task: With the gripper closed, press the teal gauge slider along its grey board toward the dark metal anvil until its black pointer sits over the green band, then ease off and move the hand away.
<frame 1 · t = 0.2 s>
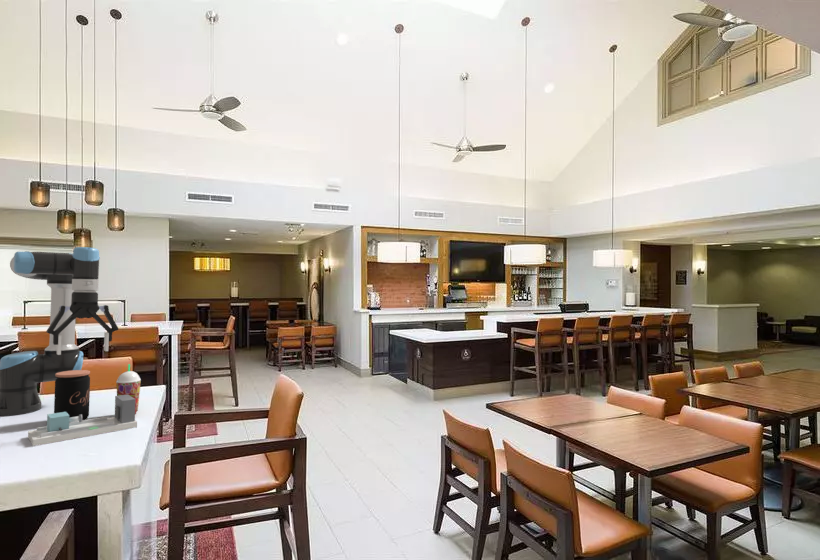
hand: (83, 352, 157), 27 cm above the table, tool pointing down, fingers open, 13 cm apart
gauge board: (82, 432, 156), on the table
gauge slider: (66, 422, 152), point 5 cm above the table, slide at 0.0 cm
smoothie: (127, 415, 178), on the table
coffee jar: (71, 420, 170), on the table
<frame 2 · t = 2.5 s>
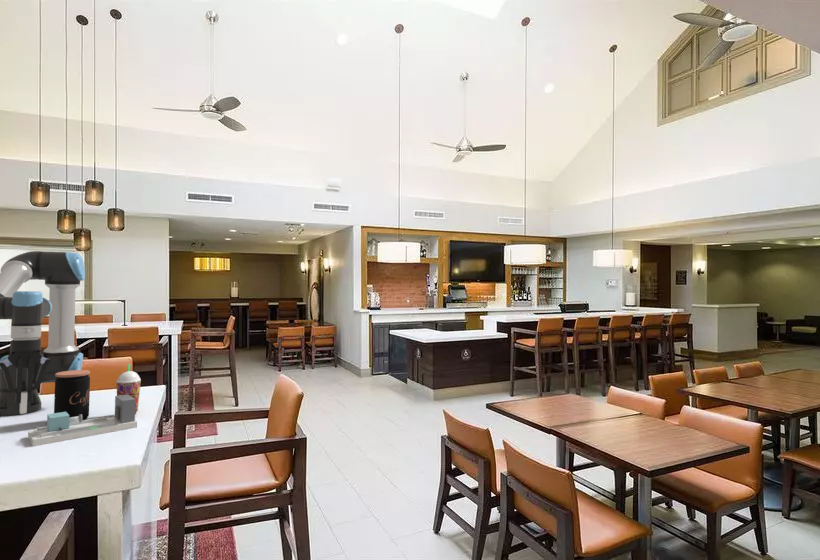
hand: (23, 412, 144), 10 cm above the table, tool pointing down, fingers closed
nothing on the table moved.
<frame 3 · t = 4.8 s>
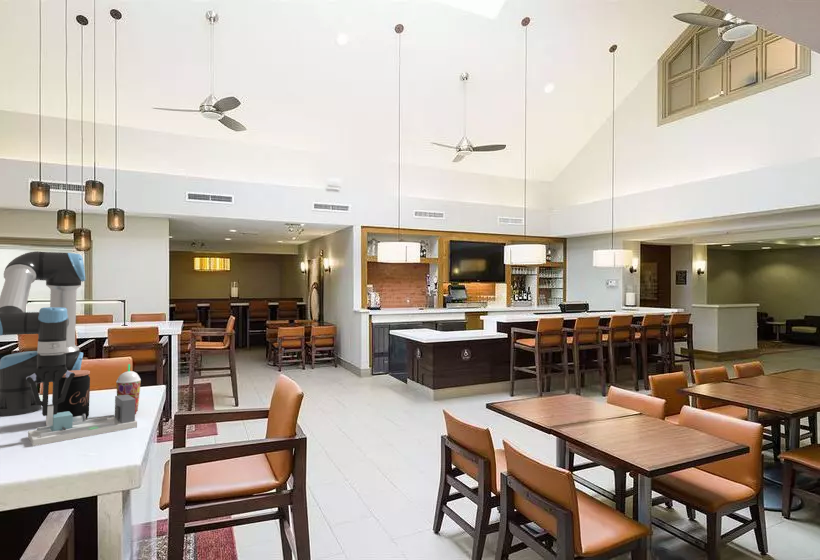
hand: (49, 424, 149), 4 cm above the table, tool pointing down, fingers closed
gauge slider: (69, 421, 152), point 5 cm above the table, slide at 0.9 cm, touching gripper
everything else where it was.
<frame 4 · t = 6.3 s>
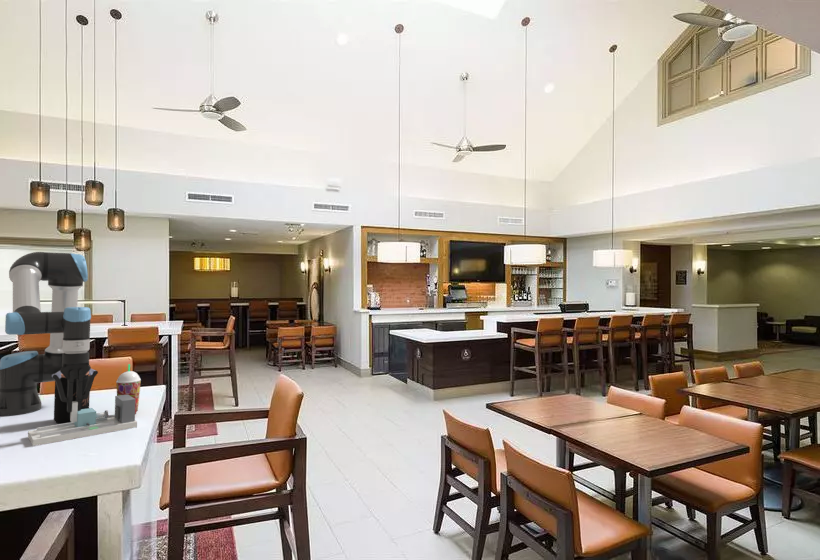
hand: (73, 421, 154), 4 cm above the table, tool pointing down, fingers closed
gauge slider: (92, 417, 157), point 5 cm above the table, slide at 7.5 cm, touching gripper
everything else where it was.
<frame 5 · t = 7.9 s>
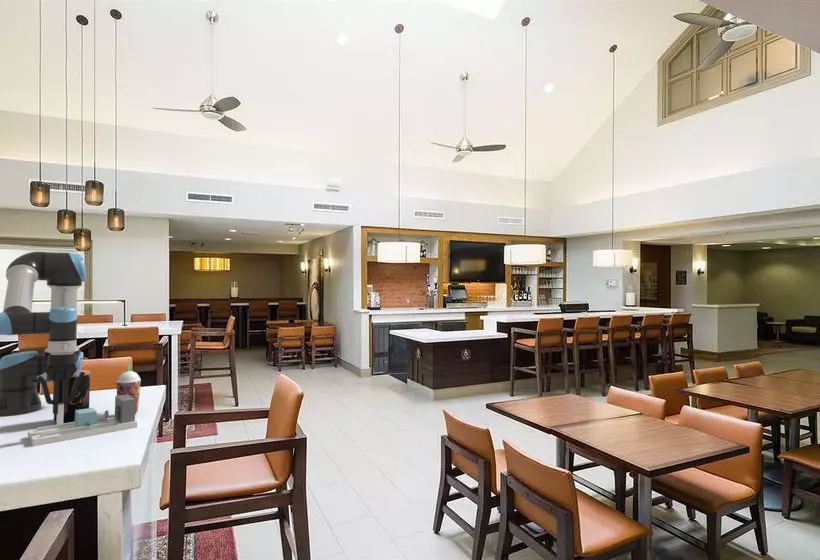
hand: (59, 423, 151), 4 cm above the table, tool pointing down, fingers closed
gauge slider: (93, 417, 157), point 5 cm above the table, slide at 7.6 cm
everything else where it was.
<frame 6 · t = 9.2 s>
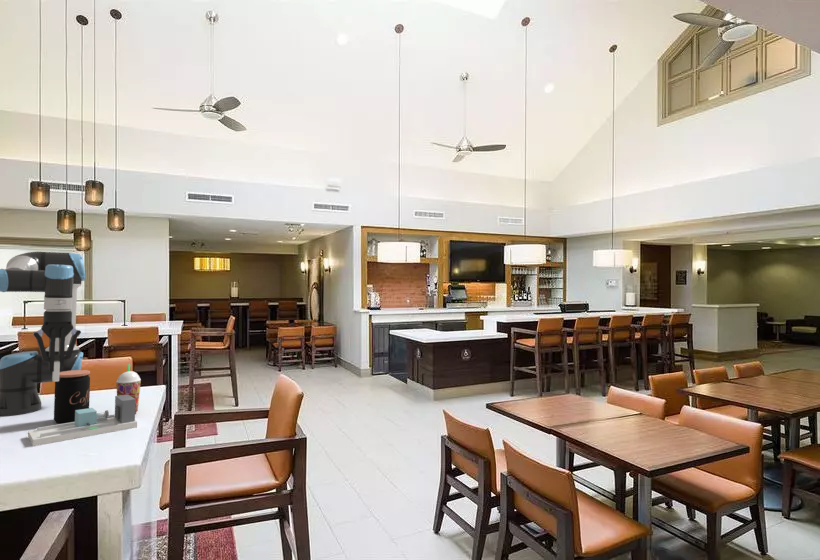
hand: (55, 380, 151), 19 cm above the table, tool pointing down, fingers closed
nothing on the table moved.
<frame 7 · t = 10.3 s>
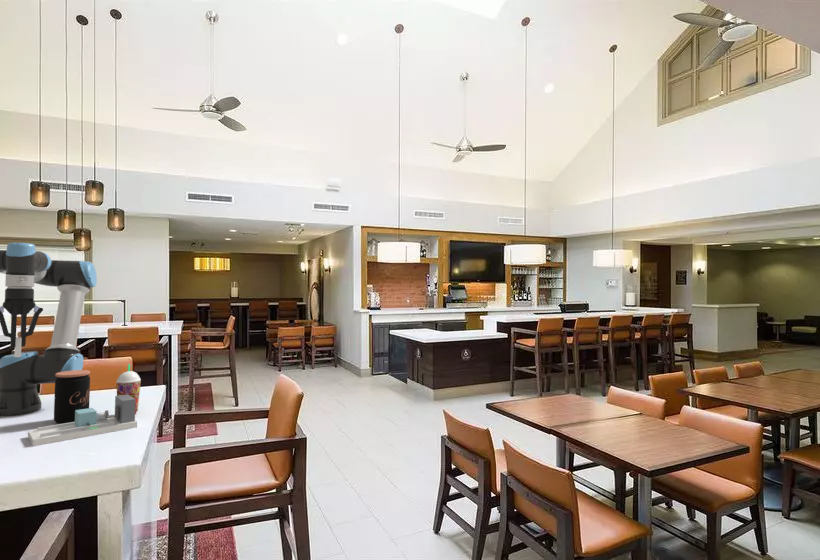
hand: (17, 356, 154), 26 cm above the table, tool pointing down, fingers closed
nothing on the table moved.
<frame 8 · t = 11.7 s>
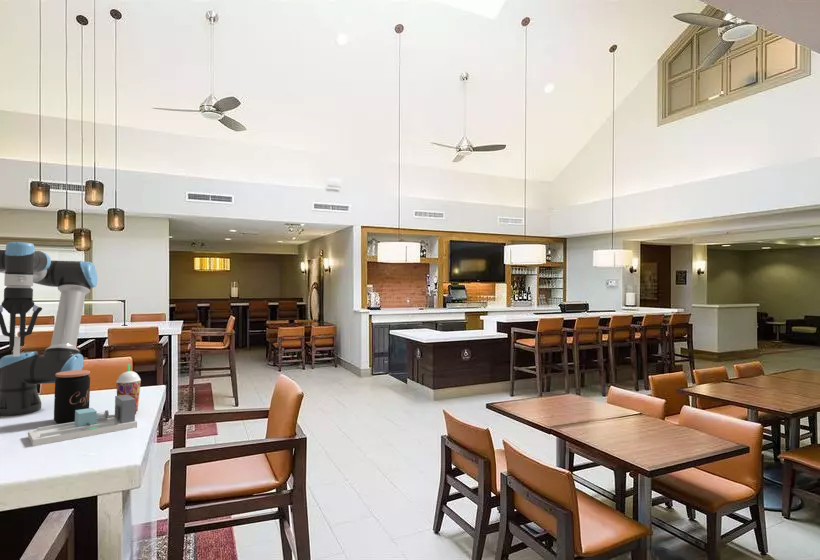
hand: (16, 355, 154), 26 cm above the table, tool pointing down, fingers closed
nothing on the table moved.
at the end: gauge slider slide at 7.6 cm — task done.
